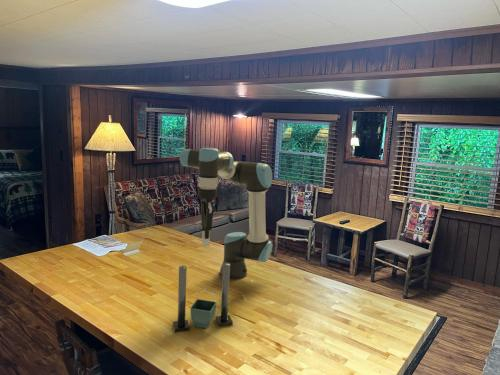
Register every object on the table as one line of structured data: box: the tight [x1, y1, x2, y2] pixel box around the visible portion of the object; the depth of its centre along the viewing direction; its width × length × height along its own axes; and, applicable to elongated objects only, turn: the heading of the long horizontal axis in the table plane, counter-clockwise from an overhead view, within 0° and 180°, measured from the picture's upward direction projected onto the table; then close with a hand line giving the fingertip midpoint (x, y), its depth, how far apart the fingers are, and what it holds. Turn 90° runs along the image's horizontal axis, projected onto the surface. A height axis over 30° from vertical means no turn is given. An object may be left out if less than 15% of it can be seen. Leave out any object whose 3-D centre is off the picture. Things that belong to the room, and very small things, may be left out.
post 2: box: [214, 262, 234, 328], centre depth 162 cm, size 6×6×26 cm
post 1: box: [172, 265, 191, 333], centre depth 156 cm, size 6×6×26 cm
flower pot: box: [189, 298, 217, 329], centre depth 160 cm, size 9×9×9 cm
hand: (205, 245), depth 155 cm, fingers closed
